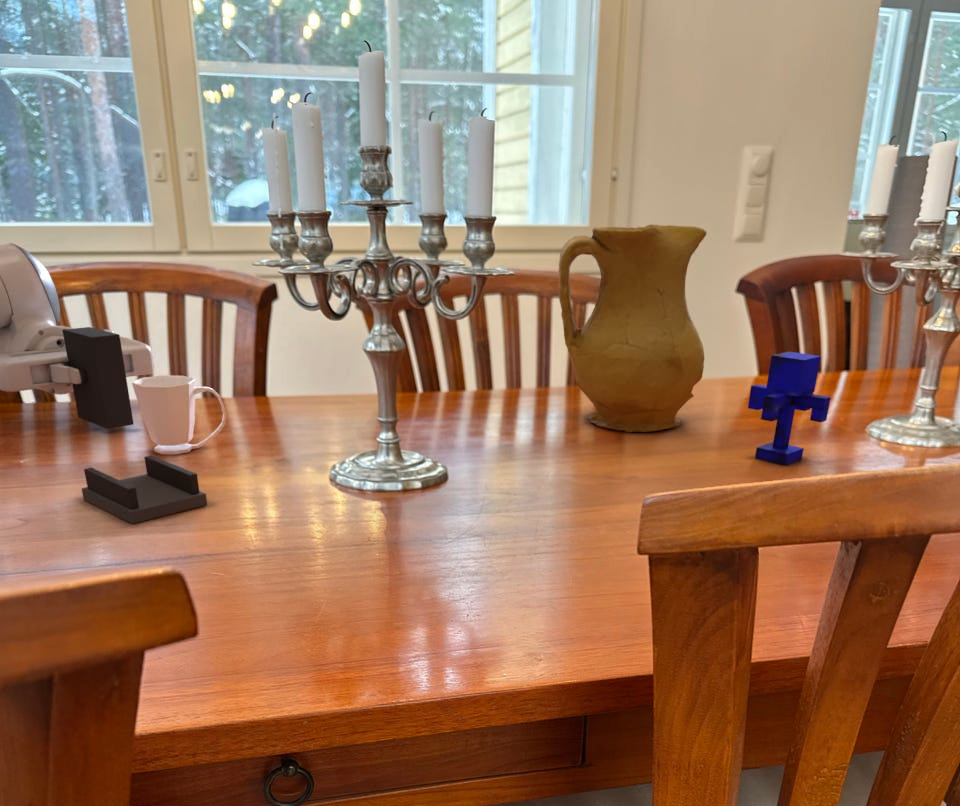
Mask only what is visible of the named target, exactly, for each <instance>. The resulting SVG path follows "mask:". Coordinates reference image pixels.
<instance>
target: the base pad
mask: <svg viewBox="0 0 960 806" xmlns="http://www.w3.org/2000/svg"><path fill="white" fill-rule="evenodd" d="M143 459H144V464H145V469H146V470H145V472H146V474H141V475H136V476H132V477H127V478H123V479H118V478H116V477H113V476H112V475H109V474H106V473H104V472H102V471H100V470H98V469H96V468H93V467H88V468H87V467H86V468H84V469H83V471H84V477H85V481H86V482H85V483H86V487H82V488H81V492H82V499H83V500H84V501H86V502H87V503H90V504H92V505H93V506H96V507H98V508H100V509H102V510H104V511H106V512H107V513H109V514H111V515H114V516H115V517H118V518H120V519H121V520H124V521H125V522H127V523H129V524H131V525H133V524H138V523H141V522H145V521H149V520H153V519H158V518H162V517H165V516H169V515H174V514H177V513H181V512H185V511H189V510H193V509H197V508H201V507H205V506H208V500H207V494H206V493H205V492H202V491H200V486H199V478H198V473H196V472H193V471H191V470H189V469H186V468H183V467H181V466H178V465H176V464H173V463H171V462H169V461H166V460H164V459H161V458H158V457H156V456H153V455H147V456H146V455H145V456H144V457H143Z"/></svg>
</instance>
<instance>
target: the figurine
mask: <svg viewBox="0 0 960 806" xmlns="http://www.w3.org/2000/svg"><path fill="white" fill-rule="evenodd" d="M820 363H821V355H816V354H815V355H813V354H808V353H800V352H793V351H785V352H781V353H775V354H771V357H770V362H769V369H768V375H767V381H766V385H763V384H759V383H758V384H753V385H751V386H750V392H749V398H748V404H747V409H749V410H755V411H760V410H761V415H760V416H761V417H760V420H762V421H766V422H773V421H776V425H775V430H774V438H773V441H771V442H768V443H765V444H763V445H760V446H756V450H755V456H754V459H756V460H761V461H765V462H769V463H773V464H778V465H782V466H787V465H790V464H793V463H796V462H798V461H800V460H802V459H803V454H804V449H805V448H804V447H800V446H797V445H791V444H790V439H791V433H792V429H793V422H794V417H795V412H796V410H797V411H802V412H807V411H810V410H811V411H810V417H809V421H811V422H816V423H824V422H826V421H827V419H828V414H829V410H830V409H829V408H830V403H831V398H832V396H828V395H827V396H826V395H821V394H814V392H815V390H816V384H817V379H818V375H819V369H820Z"/></svg>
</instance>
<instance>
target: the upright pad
mask: <svg viewBox="0 0 960 806" xmlns="http://www.w3.org/2000/svg"><path fill="white" fill-rule="evenodd" d="M73 328H74V327H73ZM99 329H100V328H94V327H91V326H86V327H85V326H84V327H75V328H74V329H64V330H62V331H63V336H64V342H65V347H66V353H67V357H68V360H69V361H68V363H69V367H82V368H85V370H86V372H87V378H88V382H87V383H82V384H74V383H72V385H73V390H74V391H73V396H74V401H75V406H76V413H77V417H78V419H80V420H83V421H86V422H89V423H91V424H94V425H96V426H99V427H101V428H104V429H107V430H110V429H115V428H123V427H127V426H133V425H134V419H133V412H132V405H131V399H130V393H129V386H128V380H127V377H126V373H125V367H124V360H123V354H122V348H121V341H120V337H121V336H120V334H119V333H115V332H114V333H111V332H107V331H103V330H104V329H103V330H99Z"/></svg>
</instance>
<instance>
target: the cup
mask: <svg viewBox="0 0 960 806" xmlns="http://www.w3.org/2000/svg"><path fill="white" fill-rule="evenodd" d="M196 382H197V380H196V379H195V378H192V377H189V376H185V375H169V374H168V375H167V374H165V375H164V374H161V375H160V374H159V375H154V376H153V375H152V376H146V377H145V376H144V377H139V378H138V379H137V380H135V381H133V382H132V383H131V384H132V388H133V391H134V395H135V397H136V400H137V404H138V407H139V410H140V413H141V416H142V420H143V423H144V426H145V428H146V431H147V433H148V435H149V438H150V439H151V442H152V443H154V444H156V446H154V448H153V452H155V453H157V454H159V455H181V454H185V453H189V452H191V450H195V449H199V448H202V447H203V446H205V445H206V444H208V443H209V442H210V441H212V440H213V439H214V438H215V437H216V436H217V435H218V434H220V432H221V431H222V430H223V428H224V427H225V425H226V421H227V412H226V407H225V404H224V402H223V399H222V396H220V394H219V393H218V392H216V390H215V389H214V388H211V387H209V386H200V385H199V386H197V385H196ZM205 392H209V393H212V394H213V395H214V396H215V397H216V398H217V399H218V402H219V404H220V407H221V411H222V418H221V422H220V424H219V425H218V426H217V428H215V430H214V431H212V432H211V433H210V434H209V435H208V436H207V437H205V439H203V440H201V441H199V442H198V443H193V444H191V443H190V441H192V440H193V436H194V428H195V422H196V395H198V394H200V393H205Z"/></svg>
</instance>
